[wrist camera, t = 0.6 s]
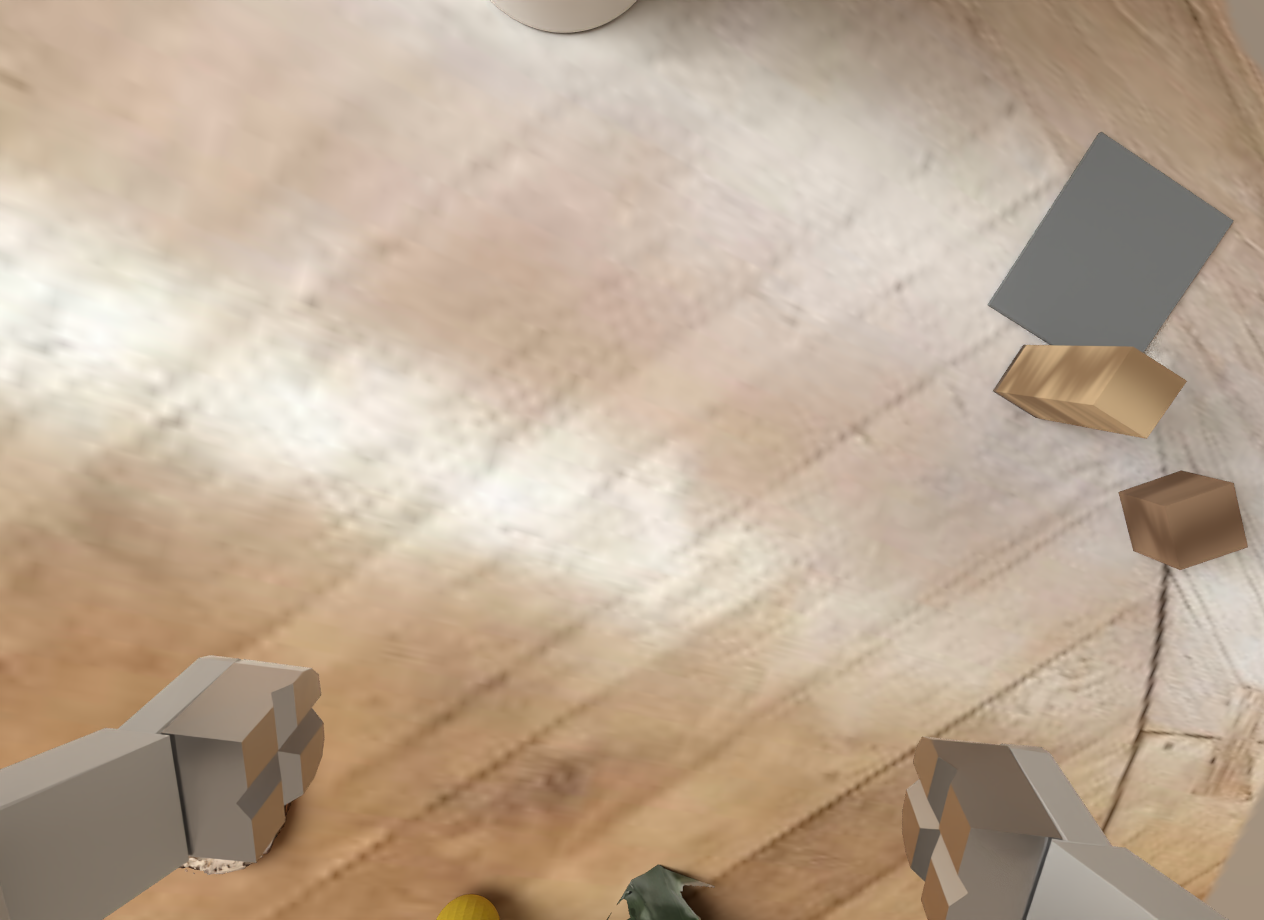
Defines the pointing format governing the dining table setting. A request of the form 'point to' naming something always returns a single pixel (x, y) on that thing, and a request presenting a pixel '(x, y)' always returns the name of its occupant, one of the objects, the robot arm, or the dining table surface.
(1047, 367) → the oak block
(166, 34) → the dining table surface
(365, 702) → the dining table surface
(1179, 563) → the walnut cube
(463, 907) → the lemon
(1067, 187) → the felt mat
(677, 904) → the rose bouquet
